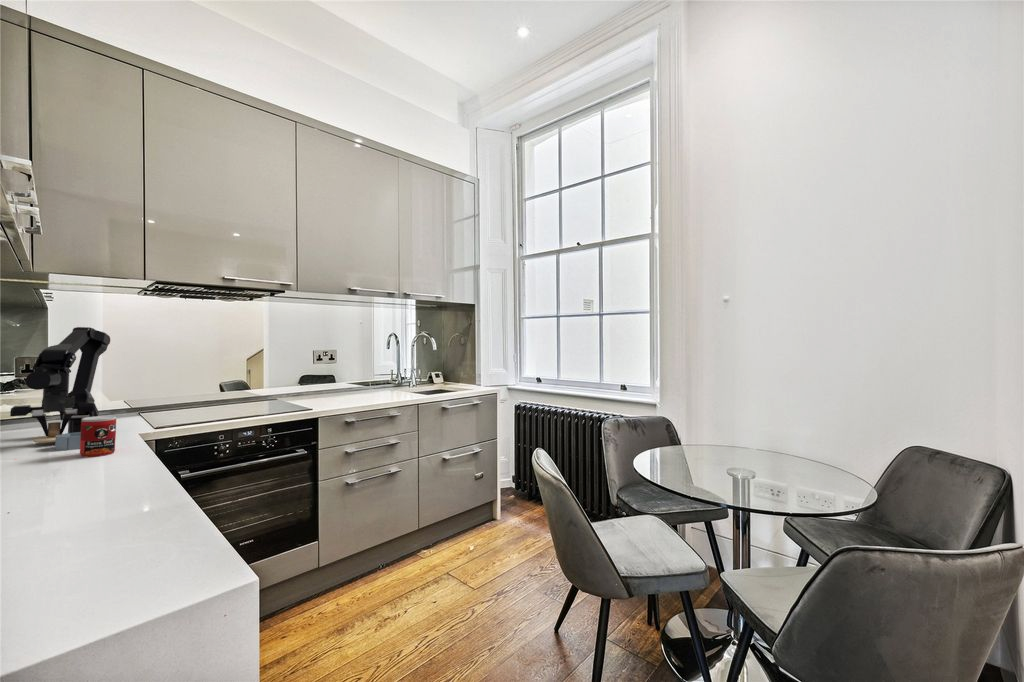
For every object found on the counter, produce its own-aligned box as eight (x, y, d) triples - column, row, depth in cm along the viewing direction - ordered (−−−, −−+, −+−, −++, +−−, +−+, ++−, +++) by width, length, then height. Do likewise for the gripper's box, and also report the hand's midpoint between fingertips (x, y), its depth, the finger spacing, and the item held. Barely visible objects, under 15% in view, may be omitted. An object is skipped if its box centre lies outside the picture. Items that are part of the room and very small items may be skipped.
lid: (34, 439, 139) (35, 422, 140) (72, 436, 146) (73, 420, 146) (33, 443, 133) (33, 426, 134) (72, 440, 140) (73, 423, 140)
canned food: (82, 458, 123) (84, 420, 124) (77, 454, 128) (78, 417, 129) (117, 454, 130) (119, 417, 130) (111, 450, 134) (113, 414, 135)
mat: (35, 444, 140) (36, 442, 140) (71, 441, 146) (71, 439, 146) (34, 449, 133) (34, 447, 133) (71, 446, 139) (71, 444, 139)
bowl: (55, 448, 135) (56, 434, 135) (95, 444, 142) (95, 430, 142) (54, 453, 129) (55, 438, 129) (96, 449, 136) (96, 434, 136)
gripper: (9, 390, 128) (7, 443, 127) (97, 387, 141) (94, 435, 141) (13, 388, 135) (10, 437, 135) (95, 385, 149) (93, 430, 148)
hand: (53, 435), depth 140 cm, fingers closed on lid, 3 cm apart
